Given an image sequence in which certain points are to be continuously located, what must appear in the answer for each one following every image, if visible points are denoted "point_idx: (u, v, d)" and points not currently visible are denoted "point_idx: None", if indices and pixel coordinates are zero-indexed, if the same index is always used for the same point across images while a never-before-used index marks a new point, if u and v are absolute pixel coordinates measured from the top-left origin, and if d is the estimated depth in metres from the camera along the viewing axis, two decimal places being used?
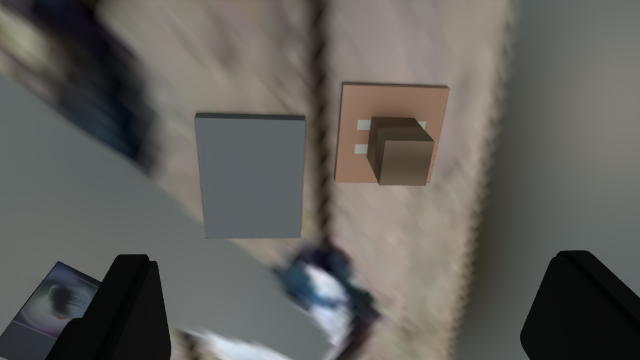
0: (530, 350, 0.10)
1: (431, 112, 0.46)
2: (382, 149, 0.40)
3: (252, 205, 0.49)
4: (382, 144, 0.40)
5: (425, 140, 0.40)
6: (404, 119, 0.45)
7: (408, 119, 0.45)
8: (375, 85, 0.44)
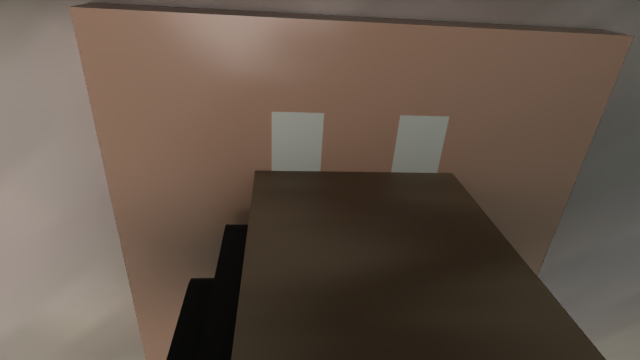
0: None
1: None
2: None
3: None
4: None
5: None
6: None
7: None
8: None
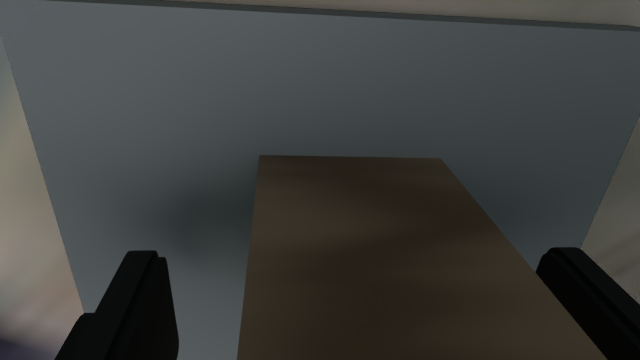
0: None
1: None
2: (513, 352, 0.05)
3: (238, 230, 0.12)
4: (534, 336, 0.06)
5: None
6: None
7: None
8: None
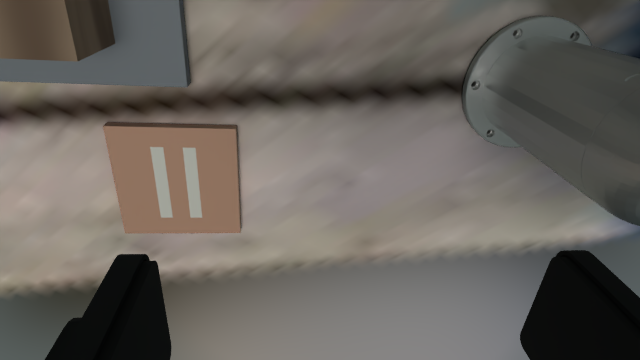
0: (530, 350, 0.10)
1: (213, 220, 0.43)
2: None
3: None
4: None
5: (76, 47, 0.27)
6: (109, 27, 0.32)
7: (110, 33, 0.32)
8: (237, 161, 0.40)
